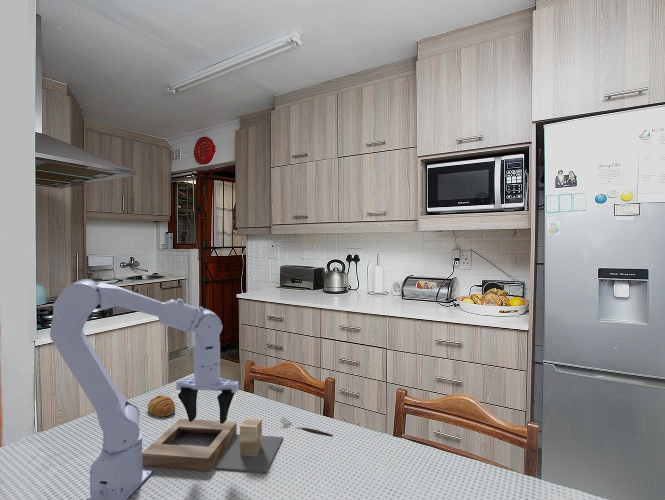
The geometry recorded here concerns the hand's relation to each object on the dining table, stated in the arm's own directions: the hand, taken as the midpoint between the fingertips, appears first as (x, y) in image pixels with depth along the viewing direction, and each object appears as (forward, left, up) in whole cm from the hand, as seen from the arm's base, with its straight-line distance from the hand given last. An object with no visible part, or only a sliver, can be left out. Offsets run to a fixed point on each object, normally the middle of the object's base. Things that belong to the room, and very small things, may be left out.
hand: (207, 420), depth 83 cm
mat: (+4, -9, -9) cm, 14 cm away
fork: (+16, -20, -10) cm, 28 cm away
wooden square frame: (+4, +6, -9) cm, 12 cm away
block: (+4, -9, -9) cm, 13 cm away
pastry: (+22, +25, -10) cm, 35 cm away
